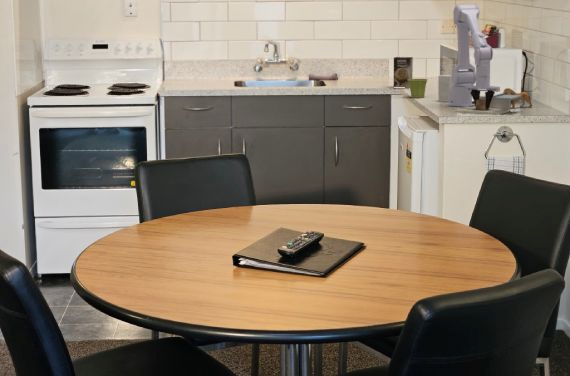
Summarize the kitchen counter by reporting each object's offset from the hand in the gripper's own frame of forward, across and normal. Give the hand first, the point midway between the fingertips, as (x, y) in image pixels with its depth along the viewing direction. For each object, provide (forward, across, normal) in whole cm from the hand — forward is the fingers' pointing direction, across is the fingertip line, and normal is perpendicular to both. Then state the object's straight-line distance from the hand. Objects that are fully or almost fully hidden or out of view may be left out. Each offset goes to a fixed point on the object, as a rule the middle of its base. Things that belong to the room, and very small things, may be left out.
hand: (482, 108), depth 405 cm
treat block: (+1, 0, 0) cm, 1 cm away
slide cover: (-5, +11, 0) cm, 12 cm away
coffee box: (+2, -74, +70) cm, 102 cm away
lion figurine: (+2, +9, +16) cm, 19 cm away
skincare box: (+2, -29, +26) cm, 39 cm away
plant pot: (+2, -48, +36) cm, 60 cm away
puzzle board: (+1, 0, 0) cm, 1 cm away
